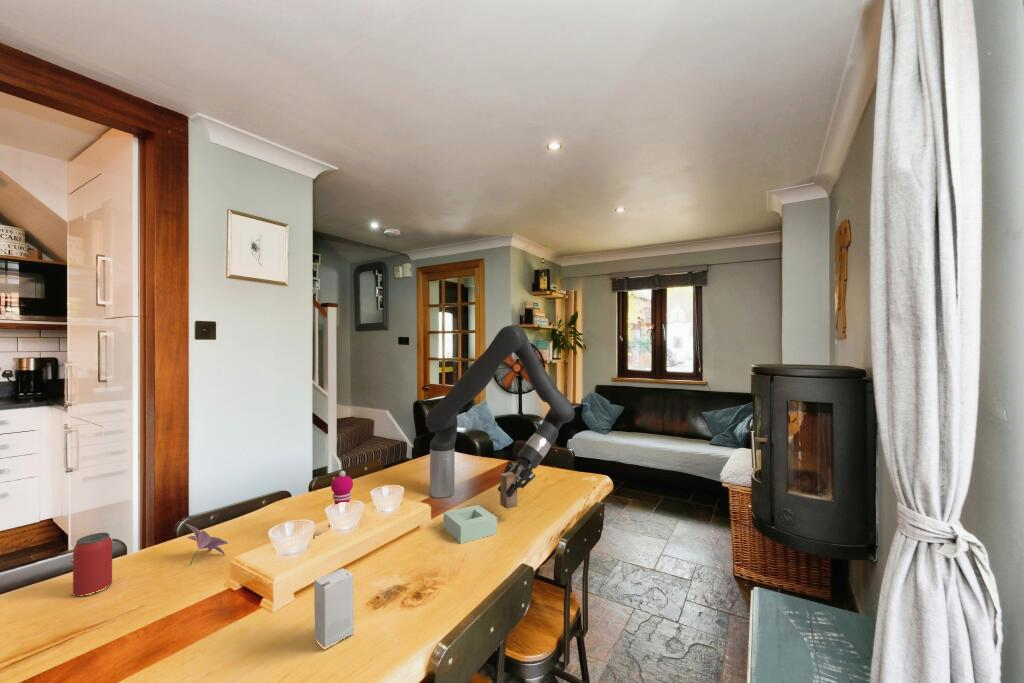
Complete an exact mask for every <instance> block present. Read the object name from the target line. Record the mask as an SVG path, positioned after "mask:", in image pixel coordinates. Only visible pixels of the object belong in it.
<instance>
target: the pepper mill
mask: <svg viewBox="0 0 1024 683" xmlns="http://www.w3.org/2000/svg"><path fill="white" fill-rule="evenodd" d="M353 488H354V481H353V478H352V477H350V476H349V475H346V471H344V470H341V471H339V473H338V476H336V477H334V479H333V480H332V481H331V484H330V489H331V491H332V499H333V501H334V505H335V504H338V503H340V502H351V501H350V500H351V498H352V489H353ZM329 527H330V525H329V524H328V528H329Z"/></svg>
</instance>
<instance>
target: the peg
mask: <svg viewBox="0 0 1024 683" xmlns="http://www.w3.org/2000/svg"><path fill="white" fill-rule="evenodd" d="M515 476H516V475H515V474H514V473H512V472H511V473H509V472H508V473H503V472H502V473H500V475H499V478H500V481H499V483H500V484H499V486H500V491H499V493H500V494H499V497H500V498H499V500H500V501H499V505H500V506H501V507H503V508H504V509H506V510H509V509H512V508H515V507H518V488H517V489H516V491H515V492H514V493H513V495H512V496H511V497H508V496H507V495H506V494H505V492H506V491H507V490H508V488H509V487H510V485H511V484H513V481H514V479H515V478H516V477H515Z"/></svg>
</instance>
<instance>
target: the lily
mask: <svg viewBox="0 0 1024 683" xmlns="http://www.w3.org/2000/svg"><path fill="white" fill-rule="evenodd" d="M185 525H186V526H187V527H188V528H189V529H190V530H191V531H192V533H193V534H194V535H195V536H194V535H190V536H188V537H187V539H190V540H192V541H195V542H196V544H197V550H196V551H195V553H194V555H193V557H192V559H191V561H190V564H189V566H190V565H191V566H192V564H193V562H194V560H195V557H196V555H197V554H198V553H199V551H200V550H203V549H207V550H208V551H212V550H216V551H218V552H219V553H222V554H223V555H225V554H224V553H225V551H224V550H222V548H221V547H220V546H223V545H227V544H229V542H228V541H226V540H224V539H222V538H220V537H216V536H212V535H210V534H209V533H207V532H206V531H205V530H199V528H197V527H195V526H193V525H190V524H188V523H185Z"/></svg>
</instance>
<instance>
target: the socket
mask: <svg viewBox="0 0 1024 683" xmlns="http://www.w3.org/2000/svg"><path fill="white" fill-rule="evenodd" d="M443 530H445V531H446V533H448V534H449V533H450V534H451V535H452V536H453V539H455V540H456V542H458V541H459V542H460V543H462V544H465V542H466V543H469V542H472V540H473V541H476V539H477V540H480V539H483V537H484V538H488V537H491V536H494V534H495V535H497V534H498V517H497V516H496V515H495V514H493V513H491V512H490V511H488V510H487V509H485V508H484V507H482V506H480V505H479V504H475V505H471V506H467V507H463V508H462V507H461V508H458V509H454V510H449V511H445V512H443ZM450 534H449V535H450ZM451 535H450V536H451ZM452 536H451V537H452ZM487 536H488V537H487ZM468 541H469V542H468ZM459 542H458V543H459ZM460 543H459V544H460Z"/></svg>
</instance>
